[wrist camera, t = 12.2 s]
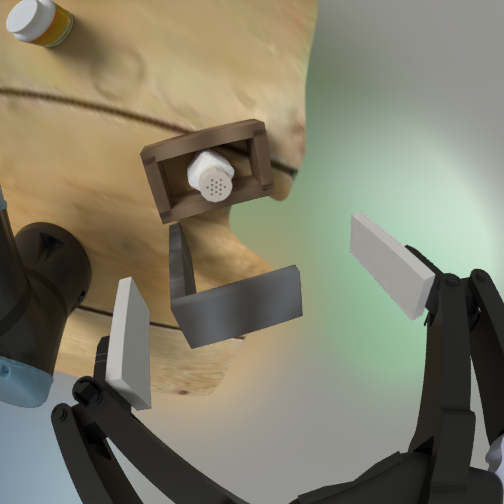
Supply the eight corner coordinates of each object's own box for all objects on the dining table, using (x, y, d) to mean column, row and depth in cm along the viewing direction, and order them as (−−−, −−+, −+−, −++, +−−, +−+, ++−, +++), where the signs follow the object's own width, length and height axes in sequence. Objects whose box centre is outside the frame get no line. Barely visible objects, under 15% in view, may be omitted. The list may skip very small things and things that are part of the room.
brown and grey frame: (181, 260, 41) (191, 348, 27) (144, 146, 31) (119, 189, 17) (272, 235, 42) (319, 309, 29) (253, 118, 33) (312, 140, 19)
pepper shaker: (211, 183, 36) (223, 212, 28) (184, 170, 34) (188, 195, 26) (227, 158, 35) (244, 179, 27) (200, 143, 33) (209, 160, 25)
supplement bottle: (81, 13, 19) (53, -7, 11) (61, 50, 21) (26, 41, 13) (51, 8, 16) (18, -9, 8) (31, 44, 18) (-7, 37, 10)
